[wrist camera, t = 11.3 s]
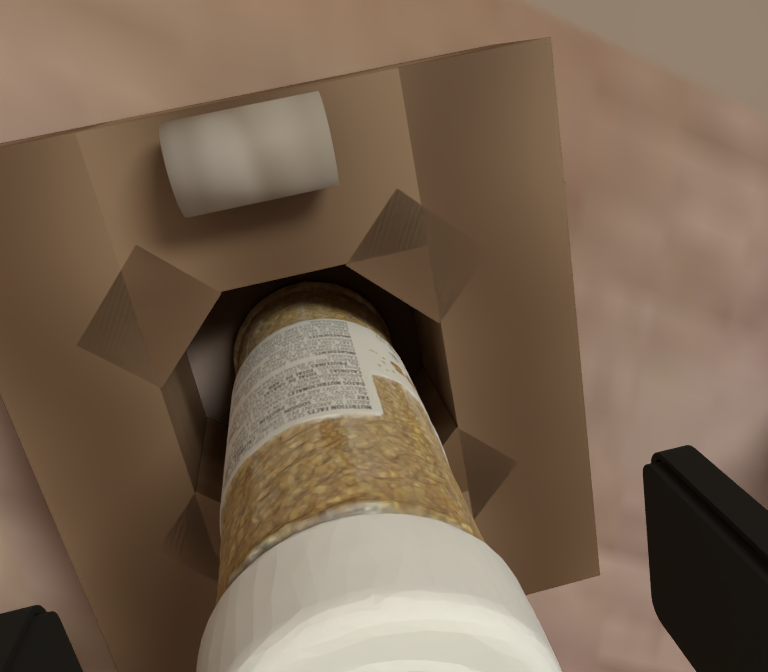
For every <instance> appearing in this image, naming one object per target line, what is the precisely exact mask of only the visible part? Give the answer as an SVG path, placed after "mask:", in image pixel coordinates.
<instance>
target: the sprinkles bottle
mask: <svg viewBox="0 0 768 672" xmlns="http://www.w3.org/2000/svg"><path fill="white" fill-rule="evenodd" d="M234 367H235V373H236V379H235V382H234V386H233V392H232V399H231V408H230V418H229V427H228V436H227V446H226V456H225V466H224V476H223V486H222V496H221V506H220V535H221V547H220V566H219V579H218V591H217V599H216V607H215V609H214V610H213V612H212V614H211V616H210V618H209V620H208V622H207V625H206V628H205V631H204V634H203V636H202V639H201V644H200V649H199V653H198V660H197V669H196V672H562V671H561V668H560V665H559V663H558V661H557V659H556V657H555V654H554V652H553V650H552V648H551V646H550V644H549V642H548V639H547V637H546V635H545V633H544V631H543V629H542V627H541V625H540V623H539V621H538V619H537V617H536V615H535V613H534V611H533V609H532V607H531V605H530V603H529V601H528V599H527V597H526V596H525V594H524V592H523V590H522V588H521V586H520V584H519V582H518V580H517V578H516V577H515V575H514V574H513V572H512V571H511V570H510V568H509V567H508V566H507V564H506V563H505V562H504V560H503V559H502V558H501V557H500V556H499V555H498V554H497V553H496V552H494V551H493V550H492V549H491V548H490V547H489V546H488V545H487V544H486V543H485V541H484V539H483V537H482V535H481V534H480V532H479V530H478V528H477V526H476V524H475V521H474V519H473V517H472V516H471V514H470V511H469V508H468V506H467V504H466V502H465V500H464V498H463V495H462V493H461V490H460V488H459V486H458V484H457V482H456V480H455V478H454V476H453V473H452V471H451V469H450V466H449V463H448V460H447V457H446V454H445V451H444V449H443V446H442V444H441V441H440V439H439V437H438V434H437V432H436V430H435V428H434V426H433V425H432V423H431V421H430V418H429V416H428V414H427V412H426V410H425V407H424V405H423V403H422V401H421V399H420V397H419V395H418V393H417V391H416V389H415V387H414V385H413V383H412V380H411V378H410V376H409V374H408V372H407V370H406V368H405V366H404V364H403V362H402V360H401V359H400V357H399V355H398V354H397V353H396V351H395V350H394V349H393V345H392V341H391V336H390V333H389V331H388V328H387V326H386V324H385V322H384V320H383V319H382V317H381V315H380V314H379V313H378V311H377V310H376V308H375V307H374V306H373V305H372V304H371V303H370V302H369V301H368V300H366V299H365V298H364V297H362V296H361V295H359V294H358V293H356V292H354V291H353V290H351V289H348V288H345V287H342V286H339V285H337V284H332V283H325V282H313V281H303V282H299V283H296V284H294V285H290V286H286V287H283V288H281V289H279V290H277V291H275V292H273V293H271V294H269V295H267V296H266V297H265V298H263V299H262V300H261V301H260V302H259V303H258V304H257V305H256V306H254V307H253V308H252V309H251V310H250V311H249V313H248V315H247V317H246V319H245V320H244V322H243V324H242V325H241V327H240V329H239V332H238V335H237V338H236V342H235V346H234Z"/></svg>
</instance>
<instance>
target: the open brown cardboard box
mask: <svg viewBox="0 0 768 672" xmlns="http://www.w3.org/2000/svg"><path fill="white" fill-rule="evenodd" d="M343 264H345V265H346V266H348V267H349V268H351V269H352V270H354V271H356V272H357V273H359V274H360V275H362V276H364V277H365V278H367V279H368V280H370V281H372V282H373V283H375V284H376V285H378V286H380V287H381V288H383V289H385V290H386V291H388V292H389V293H391V294H393V295H394V296H396V297H397V298H399V299H401V300H402V301H404V302H405V303H407V304H409V305H410V306H412V307H413V310H414V315H415V321H416V326H417V332H418V338H419V343H420V349H421V354H422V360H423V365H424V367H423V366H422V367H421V369H420V370H419V371H418V373H417V374H416V376H415V377H414V379H413V380H412V383H413V385H414V387H415V389H416V391H417V393H418V395H419V397H420V399H421V401H422V403H423V405H424V407H425V410H426V412H427V414H428V416H429V418H430V421H431V423H432V425H433V426H434V428H435V430H436V432H437V434H438V437H439V439H440V441H441V444H442V446H443V449H444V451H445V454H446V457H447V460H448V463H449V466H450V469H451V471H452V473H453V476H454V478H455V480H456V482H457V484H458V486H459V488H460V490H461V493H462V495H463V498H464V500H465V502H466V504H467V506H468V508H469V511H470V514H471V516H472V517H473V519H474V521H475V524H476V526H477V528H478V530H479V532H480V534H481V535H482V537H483V539H484V541H485V543H486V544H487V545H488V546H489V547H490V548H491V549H492V550H493V551H494V552H496V553H497V554H498V555H499V556H500V557H501V558H502V559H503V560H504V562H505V563H506V564H507V566H508V567H509V568H510V570H511V571H512V572H513V574H514V575H515V577H516V578H517V580H518V582H519V584H520V586H521V588H522V590H523V592H524V594H525V595H528V594H532V593H536V592H539V591H543V590H547V589H550V588H554V587H558V586H562V585H565V584H569V583H573V582H576V581H580V580H584V579H587V578H591V577H595V576H599V575H600V570H599V559H598V548H597V537H596V526H595V515H594V504H593V493H592V482H591V471H590V460H589V449H588V438H587V427H586V417H585V406H584V395H583V384H582V373H581V362H580V351H579V340H578V329H577V318H576V307H575V296H574V285H573V274H572V263H571V252H570V241H569V230H568V219H567V208H566V197H565V186H564V175H563V164H562V153H561V142H560V131H559V120H558V109H557V98H556V87H555V76H554V65H553V54H552V43H551V37H548V38H541V39H533V40H526V41H518V42H510V43H503V44H495V45H489V46H484V47H479V48H474V49H470V50H465V51H460V52H455V53H450V54H445V55H440V56H435V57H430V58H425V59H420V60H415V61H410V62H405V63H400V64H395V65H390V66H385V67H380V68H375V69H370V70H365V71H360V72H355V73H350V74H345V75H340V76H335V77H330V78H325V79H320V80H315V81H310V82H305V83H300V84H295V85H290V86H285V87H280V88H275V89H270V90H265V91H260V92H255V93H250V94H245V95H240V96H235V97H230V98H225V99H220V100H215V101H210V102H205V103H200V104H195V105H190V106H185V107H180V108H175V109H170V110H165V111H160V112H155V113H150V114H145V115H140V116H135V117H130V118H126V119H121V120H116V121H111V122H106V123H101V124H96V125H91V126H86V127H81V128H76V129H71V130H66V131H61V132H56V133H51V134H46V135H41V136H36V137H31V138H26V139H21V140H16V141H11V142H6V143H1V144H0V395H1V397H2V400H3V402H4V404H5V407H6V409H7V411H8V414H9V416H10V418H11V421H12V423H13V425H14V428H15V430H16V433H17V435H18V437H19V440H20V442H21V444H22V447H23V449H24V451H25V454H26V456H27V458H28V461H29V463H30V465H31V468H32V470H33V473H34V475H35V477H36V480H37V482H38V484H39V487H40V489H41V491H42V494H43V496H44V498H45V501H46V503H47V505H48V508H49V510H50V513H51V515H52V517H53V520H54V522H55V524H56V527H57V529H58V531H59V534H60V536H61V538H62V541H63V543H64V545H65V548H66V550H67V553H68V555H69V557H70V560H71V562H72V564H73V567H74V569H75V571H76V574H77V576H78V578H79V581H80V583H81V585H82V588H83V590H84V593H85V595H86V597H87V600H88V602H89V604H90V607H91V609H92V611H93V614H94V616H95V618H96V621H97V623H98V625H99V628H100V630H101V633H102V635H103V637H104V640H105V642H106V644H107V647H108V649H109V651H110V654H111V656H112V658H113V661H114V663H115V665H116V668H117V670H118V672H196V669H197V660H198V653H199V649H200V644H201V639H202V636H203V634H204V631H205V628H206V625H207V622H208V620H209V618H210V616H211V614H212V612H213V610H214V609H215V607H216V599H217V591H218V579H219V566H220V547H221V535H220V506H221V496H222V486H223V476H224V466H225V456H226V446H227V436H228V427H226V426H224V425H222V424H220V423H218V422H216V421H214V420H212V419H210V418H208V417H207V418H206V415H205V411H204V408H203V405H202V402H201V399H200V395H199V392H198V389H197V386H196V383H195V379H194V376H193V373H192V370H191V366H190V363H189V360H188V357H187V354H186V349H187V347H188V346H189V344H190V343H191V341H192V339H193V338H194V336H195V335H196V333H197V331H198V330H199V328H200V327H201V325H202V323H203V322H204V320H205V319H206V317H207V315H208V314H209V312H210V311H211V309H212V307H213V306H214V304H215V303H216V301H217V299H218V298H219V296H220V295H221V293H222V291H227V290H231V289H236V288H240V287H245V286H249V285H254V284H258V283H263V282H267V281H272V280H276V279H280V278H285V277H289V276H294V275H298V274H303V273H307V272H312V271H316V270H321V269H325V268H330V267H334V266H339V265H343Z"/></svg>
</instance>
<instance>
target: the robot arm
mask: <svg viewBox="0 0 768 672" xmlns="http://www.w3.org/2000/svg"><path fill="white" fill-rule="evenodd" d="M643 483H644V497H645V511H646V526H647V540H648V554H649V568H650V582H651V596H652V602H653V606H654V609H655V612H656V614H657V616H658V618H659V620H660V622H661V623H662V625H663V626H664V627H665V629H666V630H667V632H668V633H669V634H670V636H671V637H672V639H673V640H674V641H675V643H676V644H677V645H678V647H679V648H680V650H681V651H682V652H683V654H684V655H685V657H686V658H687V659H688V661H689V662H690V663H691V665H692V666H693V668H694V669H695V670H696V672H768V511H767V510H766V509H765V508H764V507H763V506H762V505H760V504H759V503H758V502H757V501H756V500H755V499H753V498H752V497H751V496H750V495H749V494H748V493H746V492H745V491H744V490H743V489H742V488H741V487H739V486H738V485H737V484H736V483H735V482H734V481H732V480H731V479H730V478H729V477H728V476H727V475H725V474H724V473H723V472H722V471H721V470H720V469H718V468H717V467H716V466H715V465H714V464H713V463H711V462H710V461H709V460H708V459H707V458H706V457H704V456H703V455H702V454H701V453H700V452H699V451H697V450H696V449H695V448H694V447H692V446H690V445H686V446H681V447H677V448H673V449H669V450H665V451H661V452H657V453H655V454H654V455H653V456H652V459H651V464H647V465H645V466H644V468H643ZM0 672H83V671H82V668H81V666H80V664H79V661H78V659H77V657H76V655H75V652H74V650H73V648H72V645H71V643H70V641H69V638H68V636H67V634H66V631H65V629H64V627H63V625H62V622H61V620H60V618H59V616H58V614H57V613H55V612H53V611H51V612H46V610H45V609H44V608H43V607H42V606H40V605H34V606H30V607H26V608H22V609H18V610H14V611H10V612H6V613H2V614H0Z"/></svg>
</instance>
